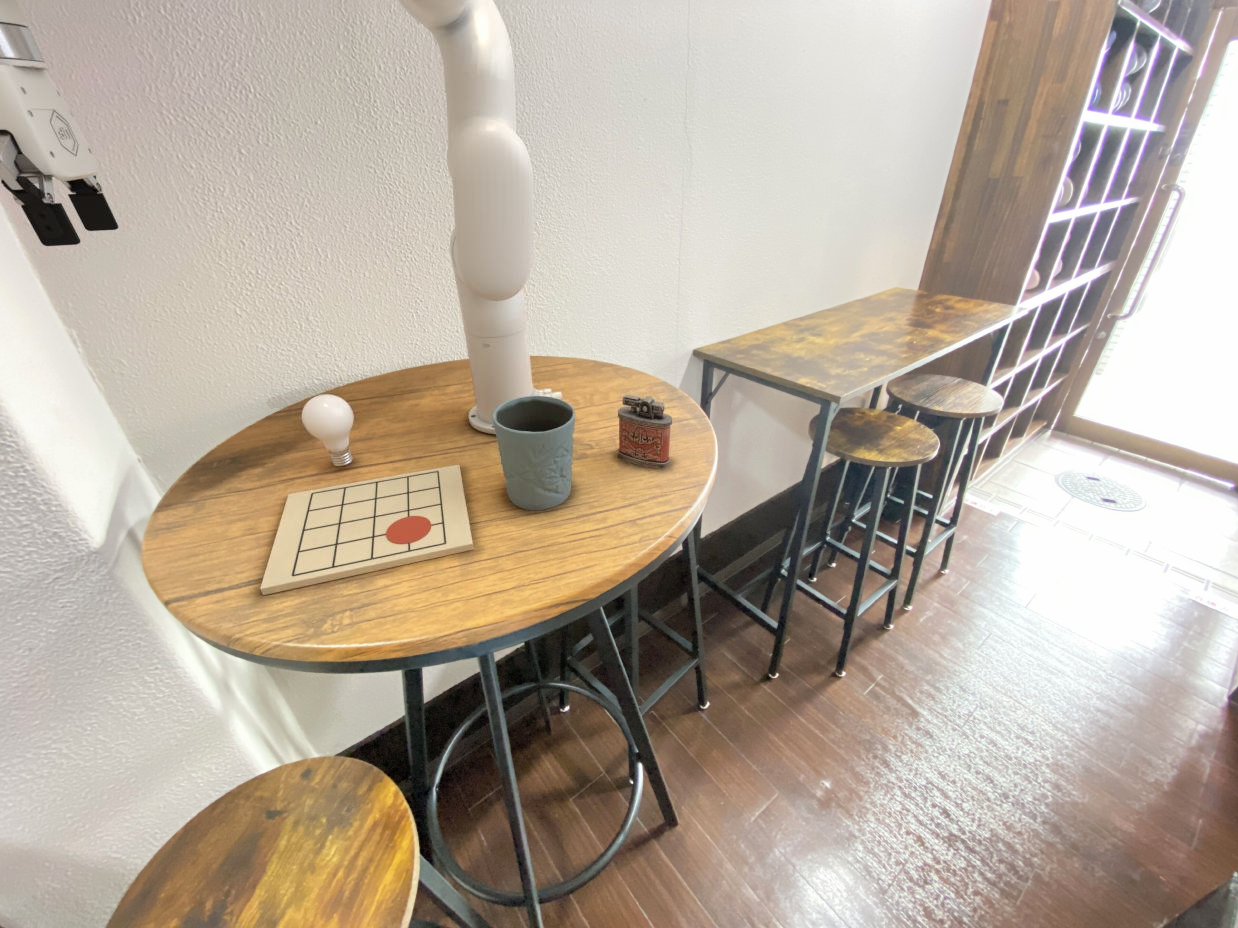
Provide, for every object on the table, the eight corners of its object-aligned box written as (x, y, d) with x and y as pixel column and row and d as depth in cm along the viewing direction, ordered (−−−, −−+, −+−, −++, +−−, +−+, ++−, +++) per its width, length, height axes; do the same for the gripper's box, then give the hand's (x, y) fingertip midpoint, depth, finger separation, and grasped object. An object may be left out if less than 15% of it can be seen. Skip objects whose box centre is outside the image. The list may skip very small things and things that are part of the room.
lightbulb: (337, 481, 74) (313, 411, 68) (311, 468, 77) (285, 400, 71) (376, 460, 79) (356, 393, 73) (349, 449, 82) (328, 383, 76)
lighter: (672, 459, 79) (676, 398, 74) (664, 471, 76) (668, 409, 71) (623, 448, 82) (623, 388, 76) (614, 458, 79) (613, 397, 74)
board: (460, 469, 77) (459, 463, 76) (473, 549, 63) (472, 542, 62) (290, 499, 71) (288, 493, 70) (263, 595, 57) (259, 588, 56)
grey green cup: (496, 480, 75) (484, 402, 68) (565, 464, 78) (560, 389, 72) (514, 522, 67) (502, 439, 60) (589, 502, 70) (586, 422, 64)
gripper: (-18, 40, 46) (89, 249, 55) (78, 59, 60) (151, 223, 69) (-134, 37, 44) (-2, 254, 53) (-7, 57, 58) (80, 227, 67)
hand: (84, 237), depth 61 cm, fingers open, 9 cm apart
